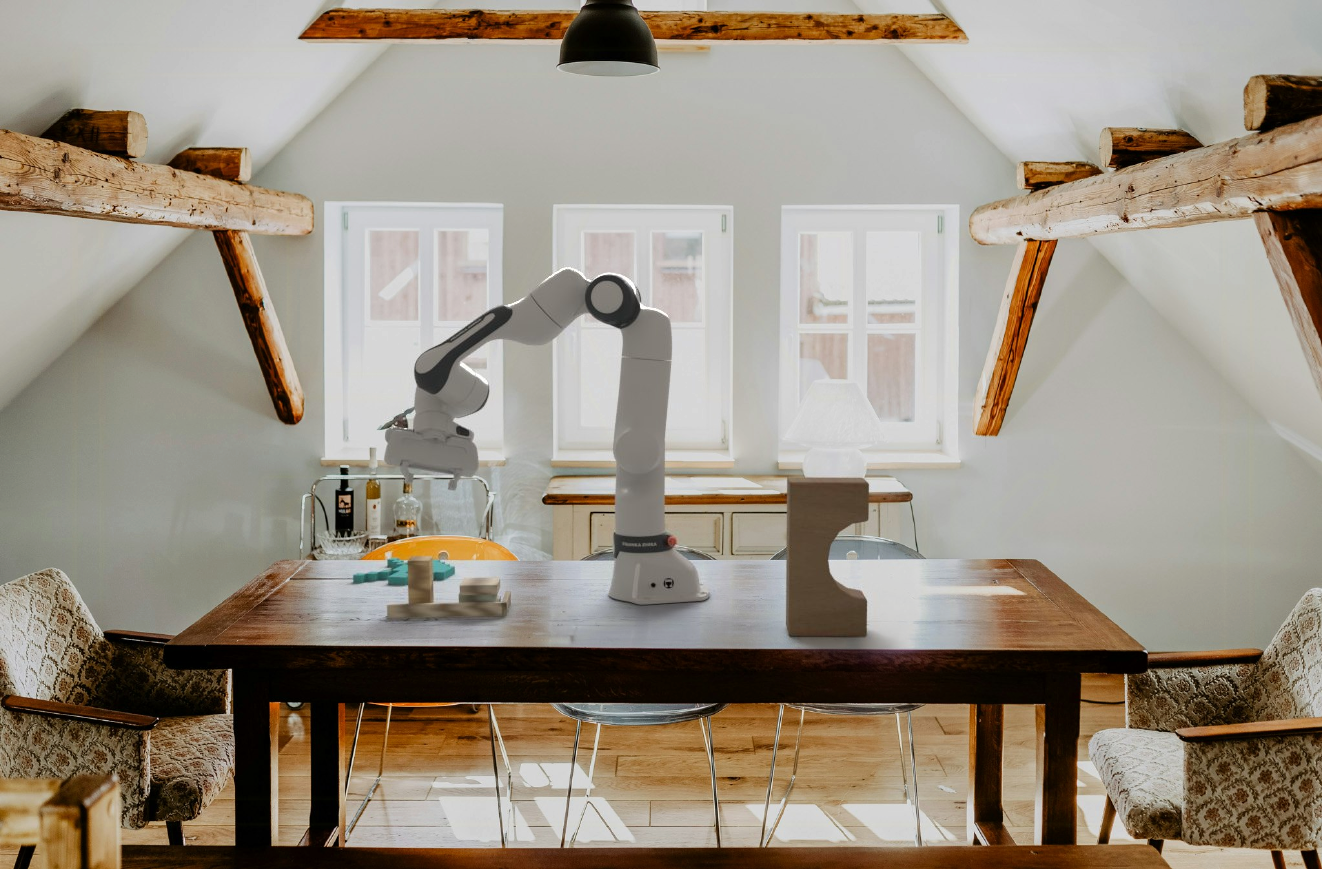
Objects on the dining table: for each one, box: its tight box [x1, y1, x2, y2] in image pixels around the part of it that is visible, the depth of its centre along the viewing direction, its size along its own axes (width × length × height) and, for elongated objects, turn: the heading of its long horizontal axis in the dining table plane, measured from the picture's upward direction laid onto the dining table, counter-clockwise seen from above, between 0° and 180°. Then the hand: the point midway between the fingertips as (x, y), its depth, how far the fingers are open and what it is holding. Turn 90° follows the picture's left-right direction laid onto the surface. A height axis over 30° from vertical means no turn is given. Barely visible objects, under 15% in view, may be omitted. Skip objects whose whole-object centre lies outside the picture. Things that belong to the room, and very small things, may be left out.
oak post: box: [407, 555, 435, 603], centre depth 216 cm, size 4×4×11 cm
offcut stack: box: [458, 576, 502, 603], centre depth 217 cm, size 8×7×6 cm
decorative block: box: [785, 476, 870, 638], centre depth 203 cm, size 15×8×30 cm, turn 87°
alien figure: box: [352, 557, 456, 586], centre depth 254 cm, size 20×2×20 cm
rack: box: [386, 590, 512, 619], centre depth 216 cm, size 24×10×4 cm, turn 93°
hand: (430, 485), depth 225 cm, fingers open, 8 cm apart
